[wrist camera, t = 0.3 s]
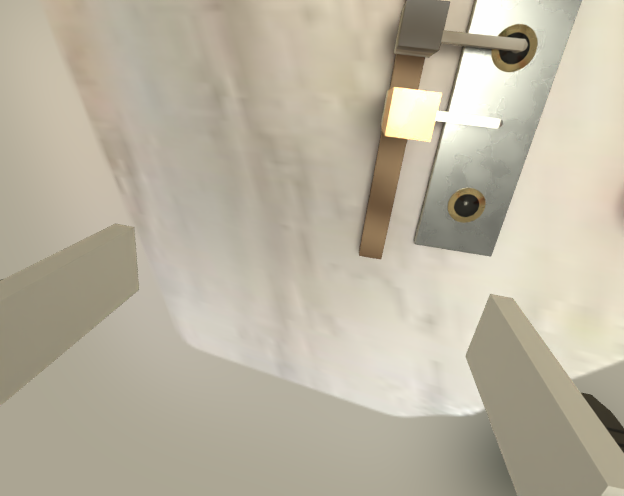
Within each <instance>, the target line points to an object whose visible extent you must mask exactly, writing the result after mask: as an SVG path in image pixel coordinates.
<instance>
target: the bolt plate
mask: <svg viewBox="0 0 624 496" xmlns="http://www.w3.org/2000/svg"><path fill="white" fill-rule="evenodd" d="M581 2H582V0H475V1H474V5H473V9H472V13H471V17H470V21H469V25H468V29H467V33H473V34H482V35H491V36H500V37H510V38H519V39H526V41H527V43H528V46H527V48H526V49H525V50H524V51H522V52H518V53H513V52H512V51H506V50H497V49H488V48H479V47H470V46H463V48H462V52H461V56H460V60H459V64H458V68H457V72H456V76H455V80H454V84H453V88H452V92H451V96H450V100H449V104H448V108H447V112H450V113H458V114H466V115H474V116H481V117H489V118H497V119H501V120H502V121H503V125H502V126H501V127H500V128H498V129H496V128H488V127H481V126H473V125H466V124H458V123H450V122H444V124H443V128H442V132H441V136H440V140H439V143H438V147H437V151H436V155H435V159H434V163H433V167H432V171H431V175H430V179H429V183H428V187H427V191H426V195H425V199H424V203H423V207H422V211H421V215H420V219H419V223H418V227H417V231H416V235H415V238H414V242H415V244H417V245H424V246H430V247H436V248H442V249H448V250H454V251H461V252H467V253H473V254H479V255H485V256H491V255H492V253H493V250H494V247H495V244H496V241H497V238H498V236H499V233H500V230H501V227H502V224H503V222H504V219H505V216H506V213H507V210H508V207H509V205H510V202H511V199H512V196H513V193H514V191H515V188H516V185H517V182H518V179H519V176H520V174H521V171H522V168H523V165H524V162H525V160H526V157H527V154H528V151H529V148H530V145H531V143H532V140H533V137H534V134H535V131H536V129H537V126H538V123H539V120H540V117H541V114H542V112H543V109H544V106H545V103H546V100H547V97H548V95H549V92H550V89H551V86H552V83H553V81H554V78H555V75H556V72H557V69H558V66H559V64H560V61H561V58H562V55H563V52H564V50H565V47H566V44H567V41H568V38H569V35H570V33H571V30H572V27H573V24H574V21H575V19H576V16H577V13H578V10H579V7H580V4H581Z"/></svg>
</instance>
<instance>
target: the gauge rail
mask: <svg viewBox="0 0 624 496" xmlns="http://www.w3.org/2000/svg"><path fill="white" fill-rule="evenodd" d="M449 5H450V1H440V0H406V2H405V4H404V7H403V10H402V12H401V17H400V23H399V28H398V33H397V39H396V44H395V50H394V54H396V57H395V63H394V68H393V73H392V79H391V84H390V89H392V88H394V87H398V88H406V89H414V90H418V87H419V83H420V78H421V74H422V69H423V64H424V60H425V57H428V58H429V57H430V56H432V55H433V54H434V53H436V52H437V51H439V48H440V44H441V43H443V44H452V45H461V46H470V47H479V48H488V49H497V50H506V51H512V52H513V53H518V52H522V51H524V50H525V49H526V48H527V46H528V43H527V41H526V39H519V38H510V37H500V36H491V35H482V34H473V33H463V32H454V31H445V30H444V27H445V22H446V18H447V14H448V9H449ZM390 89H389V90H390ZM406 143H407V139H405V138H398V137H390V136H385V135H384V132H383V130H382V132H381V137H380V143H379V148H378V153H377V159H376V164H375V169H374V175H373V180H372V185H371V191H370V196H369V201H368V207H367V212H366V217H365V223H364V228H363V233H362V239H361V244H360V250H359V256H364V257H370V258H376V259H381V258H382V253H383V249H384V244H385V239H386V235H387V230H388V226H389V221H390V216H391V212H392V207H393V203H394V198H395V193H396V189H397V184H398V180H399V175H400V170H401V166H402V161H403V157H404V152H405V147H406Z"/></svg>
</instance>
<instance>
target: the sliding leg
mask: <svg viewBox="0 0 624 496" xmlns="http://www.w3.org/2000/svg"><path fill="white" fill-rule="evenodd" d="M441 95H442V93H438V92H430V91H422V90H414V89H406V88H398V87H394V88H392V89H390V90H388V91H387V94H386V99H385V104H384V110H383V115H382V121H381V128H382V130H383V132H384V135H385V136H390V137H398V138H405V139H412V140H420V141H427V142H430V141H431V136H432V132H433V128H434V124H435V121H443V122H450V123H458V124H466V125H473V126H481V127H488V128H496V129H498V128H500V127H501V126H502V125H503V121H502V120H501V119H497V118H489V117H481V116H474V115H466V114H458V113H450V112H443V111H438V108H439V103H440V99H441Z"/></svg>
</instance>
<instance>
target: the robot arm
mask: <svg viewBox="0 0 624 496" xmlns="http://www.w3.org/2000/svg"><path fill="white" fill-rule="evenodd" d="M138 290H139V282H138V268H137V256H136V243H135V230H134V227H131V226H125V225H120V224H113V225H111V226H110V227H107V228H106V229H103V230H101V231H99V232H97V233H96V234H94V235H91V236H90V237H87V238H85V239H83V240H81V241H79V242H77V243H75V244H73V245H72V246H69V247H67V248H65V249H63V250H61V251H59V252H57V253H55V254H53V255H51V256H49V257H47V258H45V259H43V260H41V261H39V262H37V263H35V264H33V265H31V266H29V267H27V268H25V269H23V270H21V271H19V272H17V273H15V274H13V275H11V276H9V277H7V278H5V279H2V280H0V406H1V405H2V404H3V403H4V402H6V401H7V400H8V399H9V398H10V397H12V396H13V395H14V394H15V393H16V392H18V391H19V390H20V389H21V388H22V387H23V386H25V385H26V384H27V383H28V382H30V381H31V380H32V379H33V378H34V377H35V376H37V375H38V374H39V373H40V372H42V371H43V370H44V369H45V368H46V367H47V366H49V365H50V364H51V363H52V362H53V361H55V360H56V359H57V358H58V357H59V356H61V355H62V354H63V353H64V352H65V351H67V350H68V349H69V348H70V347H71V346H73V345H74V344H75V343H76V342H77V341H79V340H80V339H81V338H82V337H83V336H85V335H86V334H87V333H88V332H89V331H90V330H92V329H93V328H94V327H95V326H96V325H98V324H99V323H100V322H101V321H102V320H104V319H105V318H106V317H107V316H108V315H109V314H111V313H112V312H113V311H114V310H115V309H117V308H118V307H119V306H120V305H122V304H123V303H124V302H125V301H126V300H128V299H129V298H130V297H131V296H132V295H133V294H135V293H136V292H137V291H138ZM466 359H467V361H468V364H469V367H470V370H471V372H472V375H473V378H474V380H475V383H476V386H477V388H478V391H479V394H480V396H481V399H482V402H483V404H484V407H485V410H486V412H487V415H488V418H489V420H490V423H491V426H492V429H493V431H494V434H495V436H496V439H497V442H498V445H499V447H500V450H501V453H502V455H503V458H504V461H505V463H506V466H507V469H508V471H509V474H510V477H511V479H512V482H513V485H514V488H515V490H516V493H517V496H624V428H623V426H622V425H621V424H620V422H619V421H618V420H617V419H616V417H615V416H614V415H613V414H612V412H611V411H610V410H608V409H607V408H606V407H605V406H604V405H603V404H601V403H600V402H599V401H598V400H597V399H596V398H594V397H593V396H592V395H590V394H585V393H580V392H579V390H578V389H577V387H576V386H575V384H574V383H573V382H572V380H571V379H570V377H569V376H568V375H567V373H566V372H565V370H564V369H563V368H562V366H561V365H560V363H559V362H558V361H557V359H556V358H555V356H554V355H553V354H552V352H551V351H550V349H549V348H548V347H547V345H546V344H545V342H544V341H543V340H542V338H541V337H540V335H539V334H538V333H537V331H536V330H535V329H534V327H533V326H532V324H531V323H530V322H529V320H528V319H527V317H526V316H525V315H524V313H523V312H522V310H521V309H520V308H519V306H518V305H517V303H516V302H515V301H514V299H513V298H509V297H503V296H498V295H493V294H490V296H489V298H488V301H487V303H486V306H485V308H484V311H483V313H482V316H481V318H480V321H479V323H478V326H477V328H476V331H475V333H474V336H473V338H472V341H471V343H470V346H469V348H468V351H467V353H466Z"/></svg>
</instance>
